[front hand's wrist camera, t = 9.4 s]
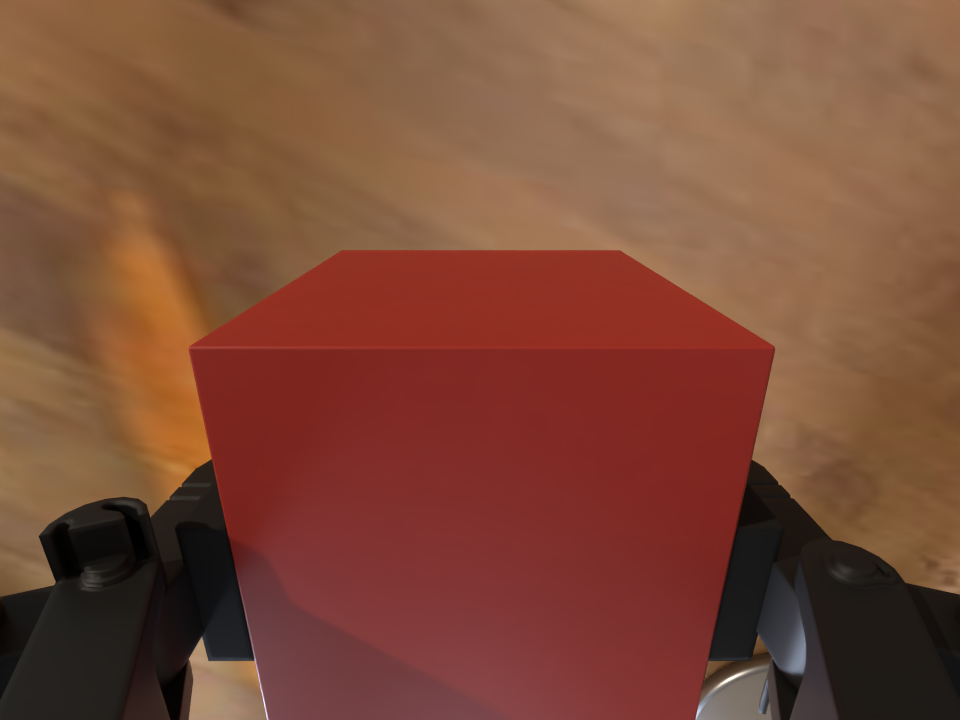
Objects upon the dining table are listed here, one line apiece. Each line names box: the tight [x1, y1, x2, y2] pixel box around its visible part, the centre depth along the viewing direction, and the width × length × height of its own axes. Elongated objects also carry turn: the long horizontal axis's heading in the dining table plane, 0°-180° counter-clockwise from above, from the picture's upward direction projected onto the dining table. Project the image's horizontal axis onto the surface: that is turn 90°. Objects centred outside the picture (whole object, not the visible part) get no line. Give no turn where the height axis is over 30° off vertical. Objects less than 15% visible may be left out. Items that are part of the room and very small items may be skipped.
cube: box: [189, 250, 775, 720], centre depth 12 cm, size 8×8×8 cm
